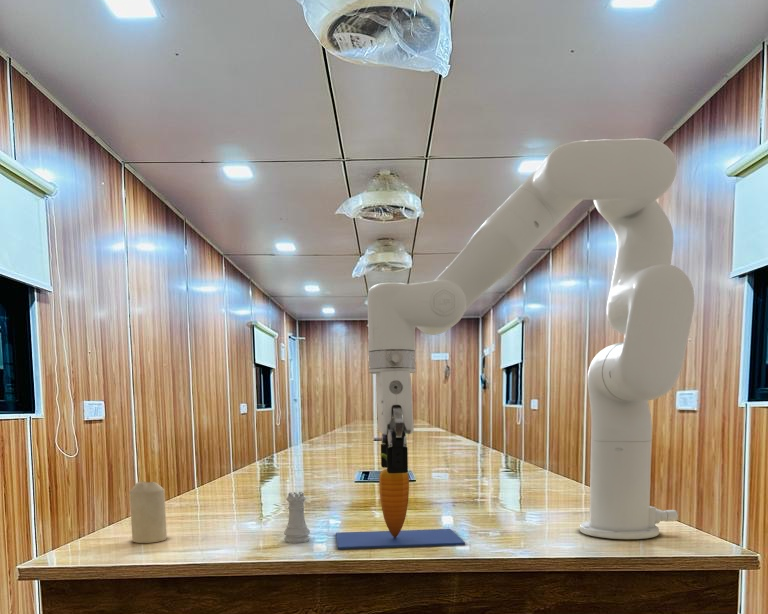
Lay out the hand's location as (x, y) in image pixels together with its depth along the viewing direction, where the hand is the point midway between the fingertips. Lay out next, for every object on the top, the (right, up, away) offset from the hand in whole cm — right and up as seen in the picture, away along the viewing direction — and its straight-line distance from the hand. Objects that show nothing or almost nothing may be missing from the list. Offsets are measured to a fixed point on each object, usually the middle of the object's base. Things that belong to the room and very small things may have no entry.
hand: (393, 470), depth 107 cm
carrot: (0, -11, +1) cm, 11 cm away
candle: (-41, -12, +4) cm, 43 cm away
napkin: (+1, -12, +1) cm, 12 cm away
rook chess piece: (-16, -12, +2) cm, 20 cm away
